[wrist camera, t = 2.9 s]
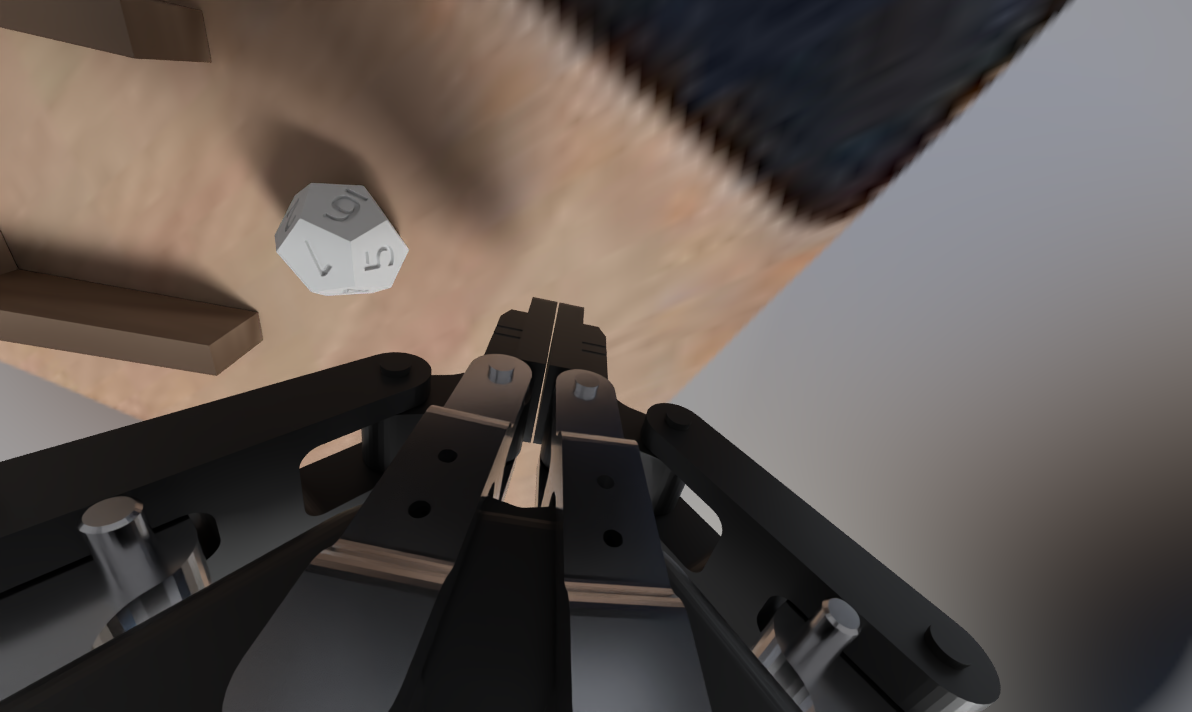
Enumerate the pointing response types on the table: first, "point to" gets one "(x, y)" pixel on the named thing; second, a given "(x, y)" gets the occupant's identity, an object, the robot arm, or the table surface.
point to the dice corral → (100, 312)
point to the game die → (339, 241)
